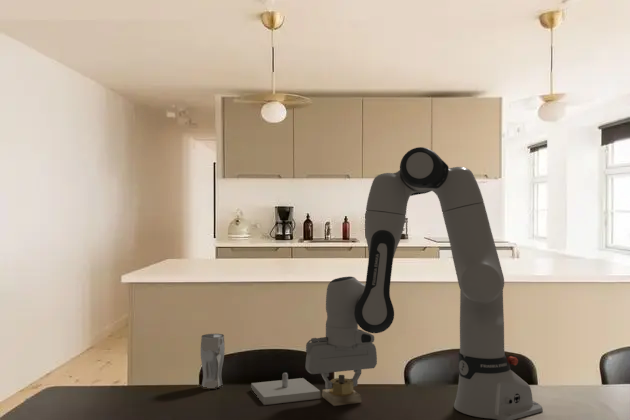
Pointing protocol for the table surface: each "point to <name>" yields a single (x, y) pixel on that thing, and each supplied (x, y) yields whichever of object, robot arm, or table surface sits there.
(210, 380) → the beer glass
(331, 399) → the stand
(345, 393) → the collar
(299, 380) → the block
